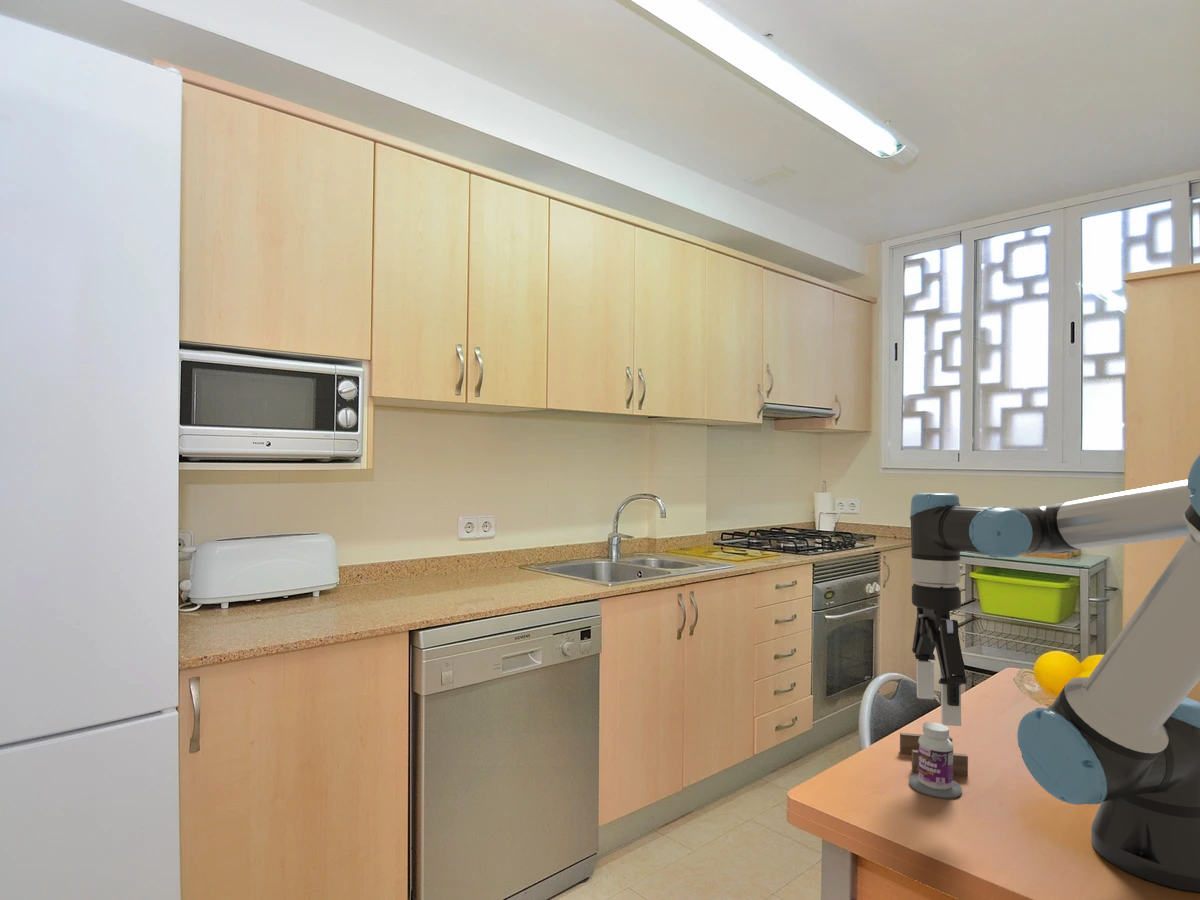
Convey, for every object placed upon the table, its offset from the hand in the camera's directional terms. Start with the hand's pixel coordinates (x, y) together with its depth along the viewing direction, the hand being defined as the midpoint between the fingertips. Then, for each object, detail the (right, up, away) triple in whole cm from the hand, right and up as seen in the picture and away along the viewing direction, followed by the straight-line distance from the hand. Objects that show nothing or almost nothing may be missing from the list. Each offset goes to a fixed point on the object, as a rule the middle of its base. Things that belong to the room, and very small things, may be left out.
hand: (937, 710), depth 116 cm
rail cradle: (+4, -13, +10) cm, 17 cm away
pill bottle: (0, -13, 0) cm, 13 cm away
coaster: (0, -13, 0) cm, 13 cm away
